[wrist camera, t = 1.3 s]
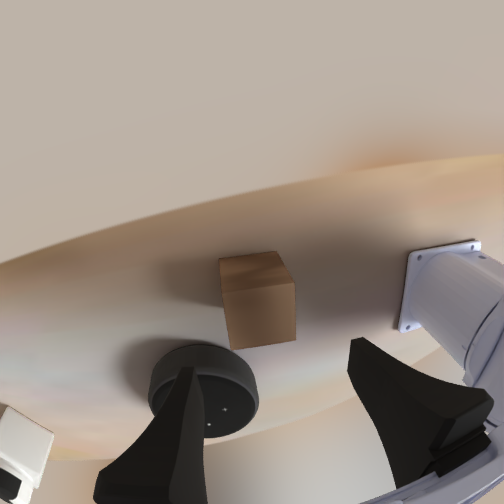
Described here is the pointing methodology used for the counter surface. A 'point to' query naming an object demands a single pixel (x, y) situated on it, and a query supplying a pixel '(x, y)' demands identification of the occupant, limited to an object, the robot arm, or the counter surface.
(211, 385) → the smart speaker
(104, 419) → the counter surface
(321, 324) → the counter surface
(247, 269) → the walnut block
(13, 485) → the medicine bottle
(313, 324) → the counter surface
